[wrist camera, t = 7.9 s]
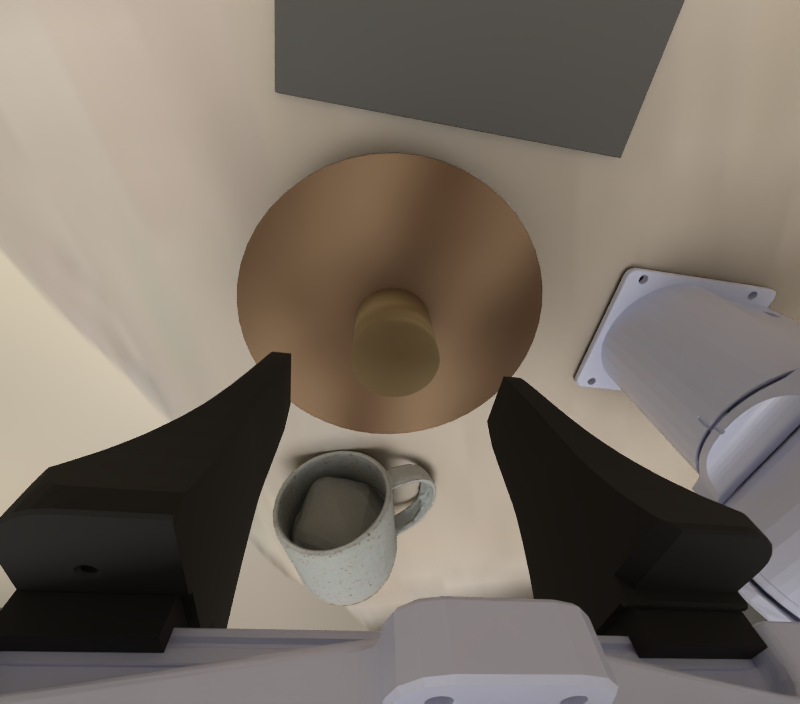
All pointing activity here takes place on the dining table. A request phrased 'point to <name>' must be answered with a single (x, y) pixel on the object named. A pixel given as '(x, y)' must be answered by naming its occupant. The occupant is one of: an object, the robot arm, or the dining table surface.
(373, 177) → the walnut cover
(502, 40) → the rubber mat
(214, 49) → the dining table surface
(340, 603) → the ceramic mug
